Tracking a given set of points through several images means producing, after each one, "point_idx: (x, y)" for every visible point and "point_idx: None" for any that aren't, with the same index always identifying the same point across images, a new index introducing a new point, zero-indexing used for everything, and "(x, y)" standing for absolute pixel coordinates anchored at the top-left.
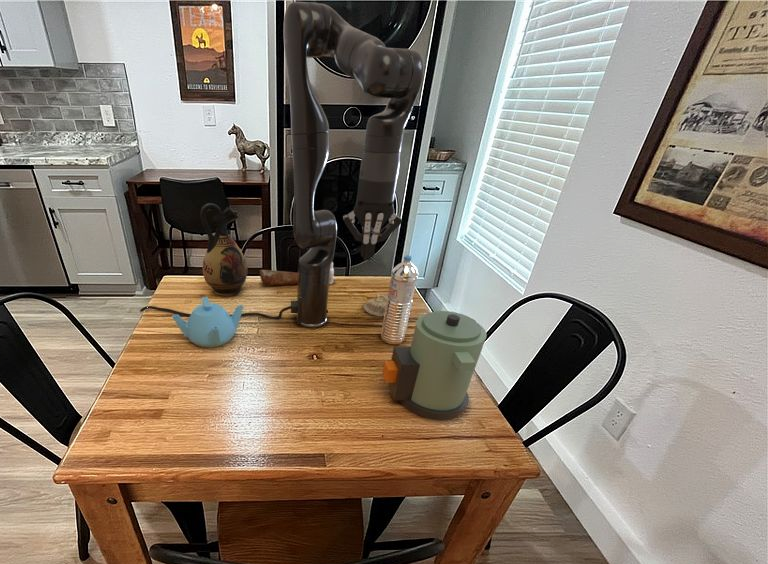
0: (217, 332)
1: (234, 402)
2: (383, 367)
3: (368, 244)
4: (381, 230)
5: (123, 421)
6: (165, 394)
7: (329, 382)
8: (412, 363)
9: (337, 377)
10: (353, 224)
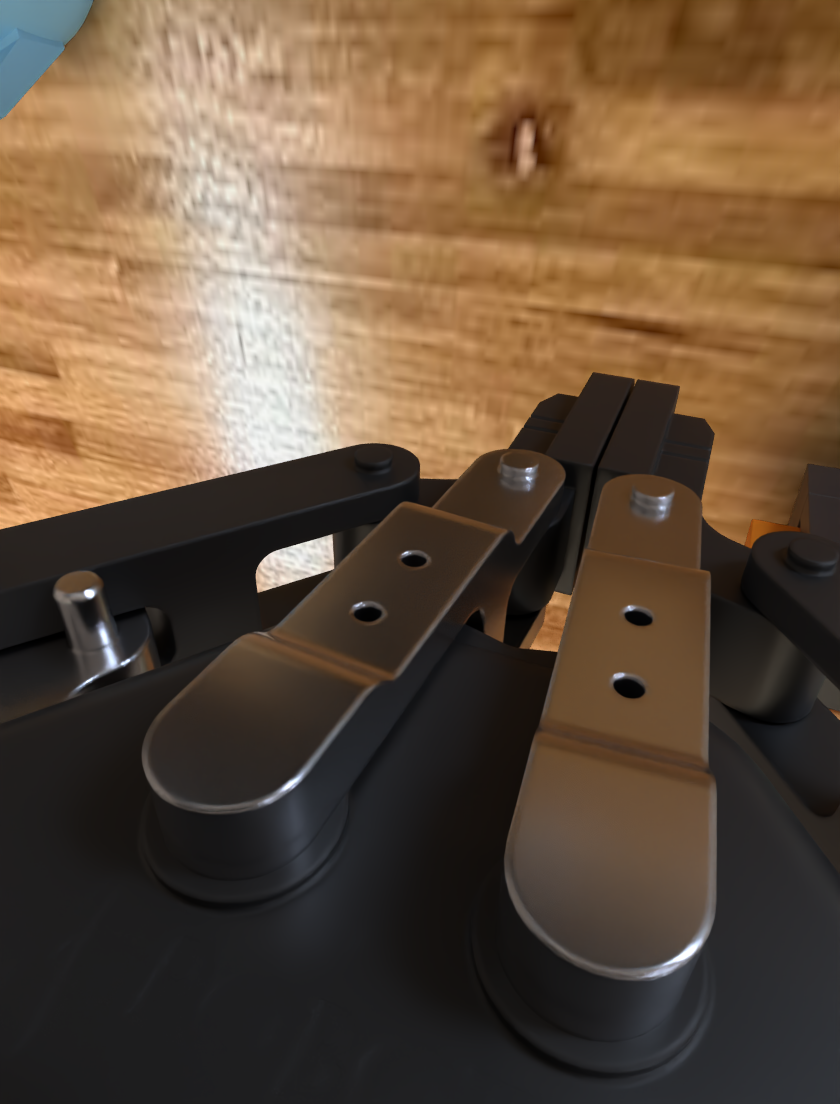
0: (12, 106)
1: (232, 427)
2: (749, 538)
3: (559, 589)
4: (818, 617)
5: (10, 449)
6: (44, 356)
7: (557, 371)
8: (826, 701)
9: (602, 341)
10: (196, 582)
